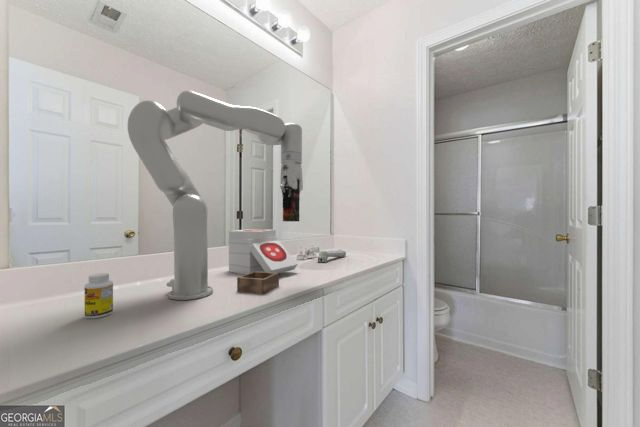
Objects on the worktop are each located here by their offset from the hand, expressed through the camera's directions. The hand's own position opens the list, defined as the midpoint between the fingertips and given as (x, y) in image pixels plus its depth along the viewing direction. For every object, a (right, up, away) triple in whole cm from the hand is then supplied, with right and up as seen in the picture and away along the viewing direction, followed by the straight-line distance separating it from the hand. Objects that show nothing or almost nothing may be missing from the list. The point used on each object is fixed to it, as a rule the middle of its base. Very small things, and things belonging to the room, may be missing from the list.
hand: (291, 208), depth 97 cm
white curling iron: (+17, -28, +52) cm, 61 cm away
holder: (-10, -27, -6) cm, 30 cm away
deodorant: (0, -5, 0) cm, 5 cm away
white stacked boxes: (-15, -28, +21) cm, 38 cm away
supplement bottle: (-45, -28, -29) cm, 61 cm away
